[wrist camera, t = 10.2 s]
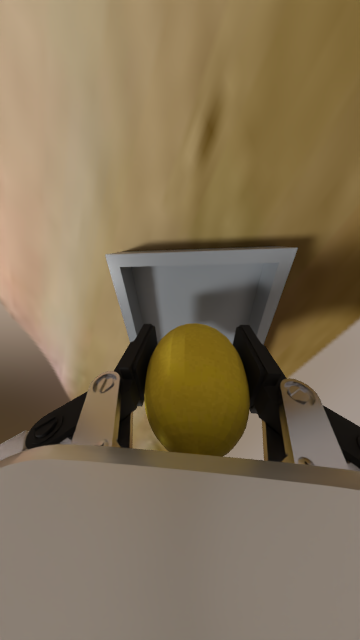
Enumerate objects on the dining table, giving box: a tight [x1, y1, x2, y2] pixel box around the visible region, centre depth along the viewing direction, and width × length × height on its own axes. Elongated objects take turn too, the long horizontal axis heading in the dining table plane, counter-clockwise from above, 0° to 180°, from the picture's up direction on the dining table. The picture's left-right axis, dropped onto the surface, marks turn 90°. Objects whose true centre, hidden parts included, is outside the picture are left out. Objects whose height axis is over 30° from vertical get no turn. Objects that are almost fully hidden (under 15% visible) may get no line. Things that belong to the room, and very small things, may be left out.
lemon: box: [144, 323, 250, 457], centre depth 8 cm, size 6×6×8 cm
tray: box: [105, 246, 298, 345], centre depth 13 cm, size 12×12×2 cm
